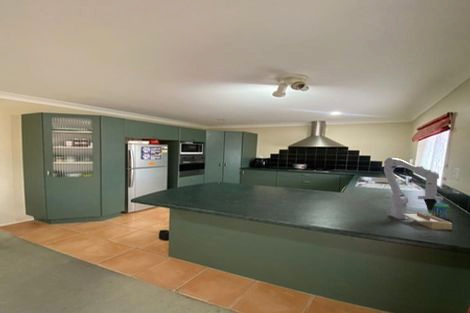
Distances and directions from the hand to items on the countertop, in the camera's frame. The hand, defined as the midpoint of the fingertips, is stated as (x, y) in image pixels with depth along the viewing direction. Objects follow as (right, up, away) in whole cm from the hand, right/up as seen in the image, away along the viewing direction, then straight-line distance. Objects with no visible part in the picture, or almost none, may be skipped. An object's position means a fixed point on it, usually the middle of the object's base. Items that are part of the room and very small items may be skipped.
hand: (429, 210), depth 153 cm
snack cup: (+21, -10, +17) cm, 29 cm away
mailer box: (+2, -10, 0) cm, 10 cm away
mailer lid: (-6, -6, +1) cm, 8 cm away
